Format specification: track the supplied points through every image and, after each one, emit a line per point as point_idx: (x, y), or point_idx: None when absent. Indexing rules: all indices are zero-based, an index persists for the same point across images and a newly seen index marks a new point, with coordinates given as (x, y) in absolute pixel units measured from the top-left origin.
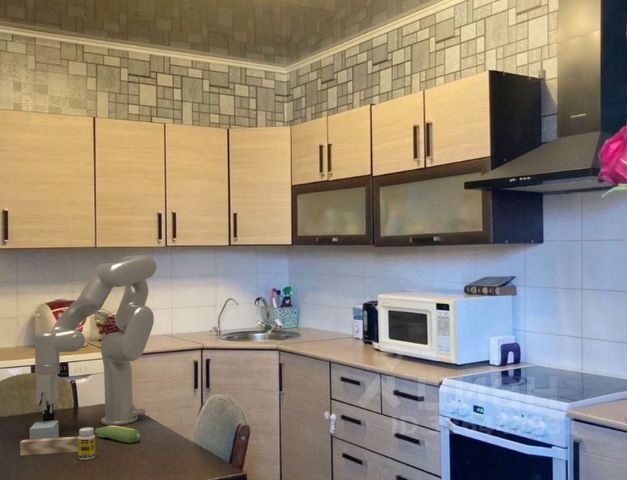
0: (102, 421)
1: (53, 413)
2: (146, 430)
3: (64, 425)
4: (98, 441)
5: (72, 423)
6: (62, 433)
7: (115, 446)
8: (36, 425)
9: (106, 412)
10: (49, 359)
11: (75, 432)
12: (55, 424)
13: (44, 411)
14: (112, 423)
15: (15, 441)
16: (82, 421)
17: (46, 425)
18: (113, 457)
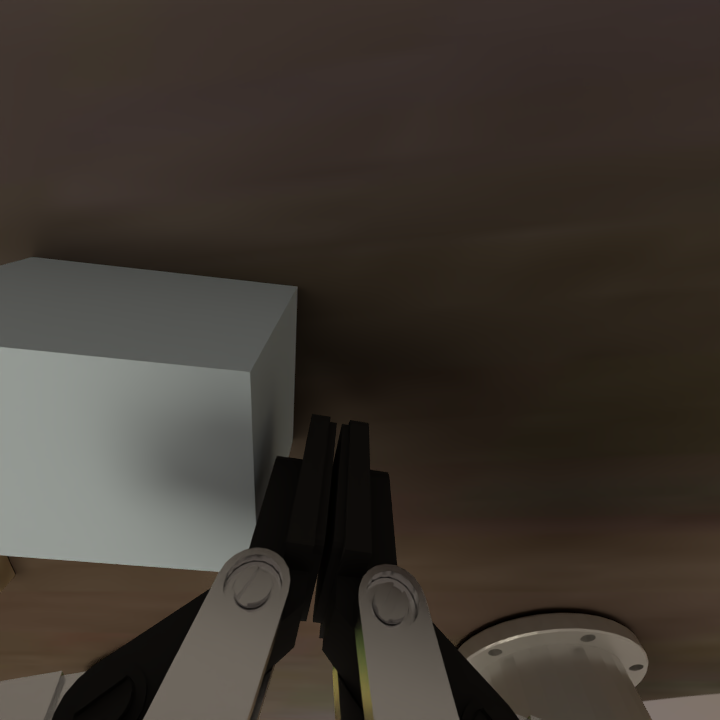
0: (529, 631)
1: (321, 618)
2: (299, 705)
3: (684, 455)
4: (159, 597)
5: (699, 495)
6: (433, 453)
7: (58, 639)
8: (22, 397)
9: (557, 705)
10: None
11: (414, 515)
12: (90, 557)
13: (155, 631)
14: (464, 652)
15: (334, 49)
16: (699, 540)
17: (19, 498)
18: None
